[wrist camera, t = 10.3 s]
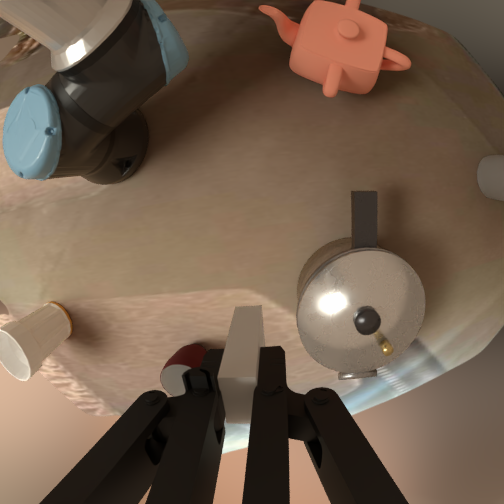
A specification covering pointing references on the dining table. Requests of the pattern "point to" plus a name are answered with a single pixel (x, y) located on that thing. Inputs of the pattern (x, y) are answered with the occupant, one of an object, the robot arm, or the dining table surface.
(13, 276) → the dining table surface
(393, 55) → the teapot
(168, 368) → the mug
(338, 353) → the lid
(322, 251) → the pot
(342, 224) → the dining table surface
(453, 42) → the dining table surface
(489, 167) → the cup
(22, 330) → the cup
